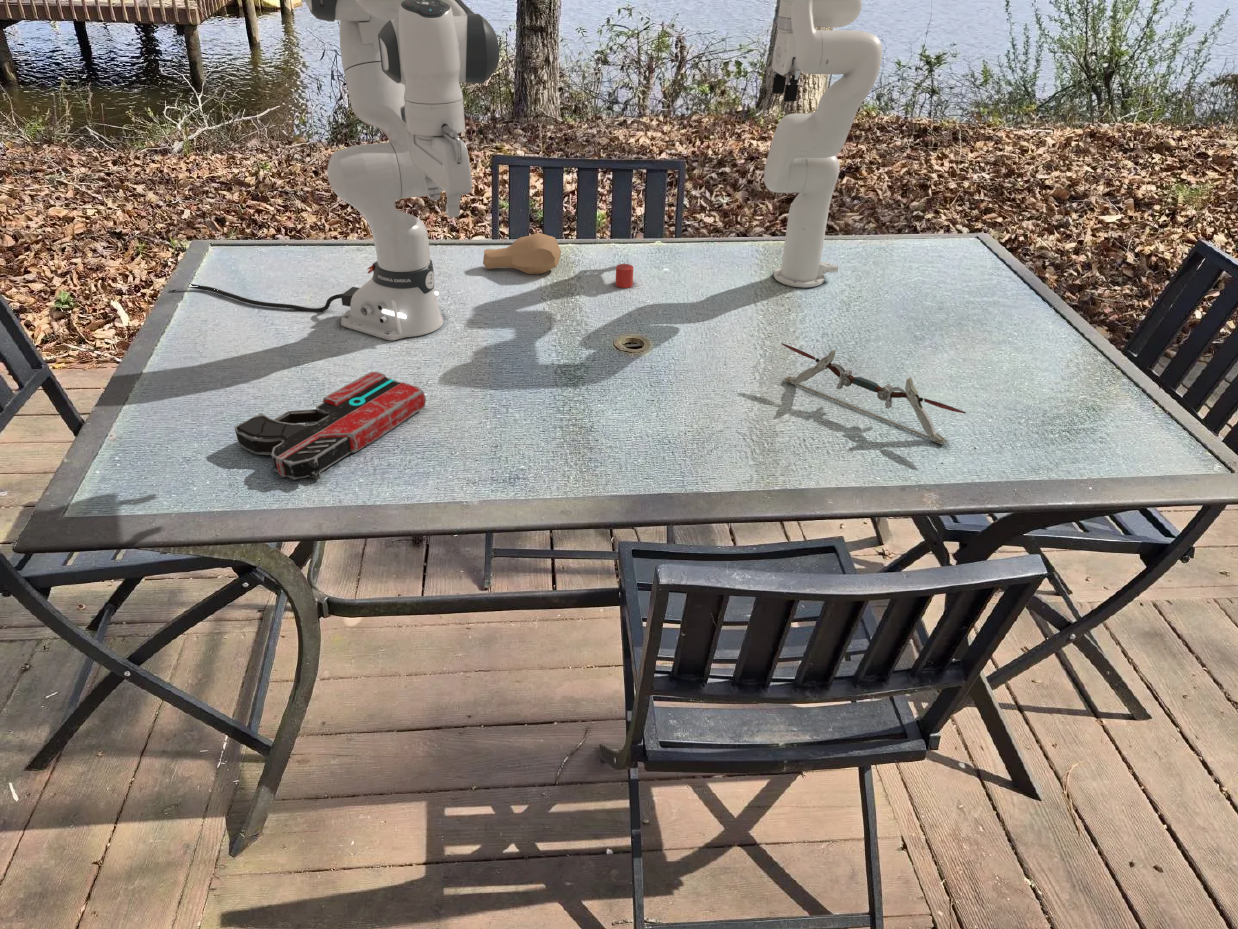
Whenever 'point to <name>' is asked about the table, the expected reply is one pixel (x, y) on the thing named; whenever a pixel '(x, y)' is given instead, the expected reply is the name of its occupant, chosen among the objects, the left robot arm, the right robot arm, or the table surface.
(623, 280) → the canister
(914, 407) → the bow
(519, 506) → the table surface
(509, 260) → the squash
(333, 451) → the gun
